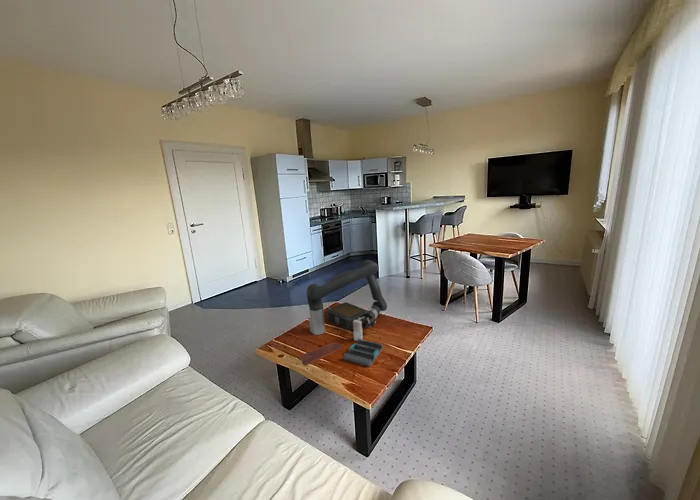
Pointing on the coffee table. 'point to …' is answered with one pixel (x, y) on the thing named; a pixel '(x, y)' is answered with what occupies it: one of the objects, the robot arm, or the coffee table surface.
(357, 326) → the panel
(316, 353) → the wooden tablet
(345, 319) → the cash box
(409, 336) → the coffee table surface
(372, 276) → the robot arm
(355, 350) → the rack
